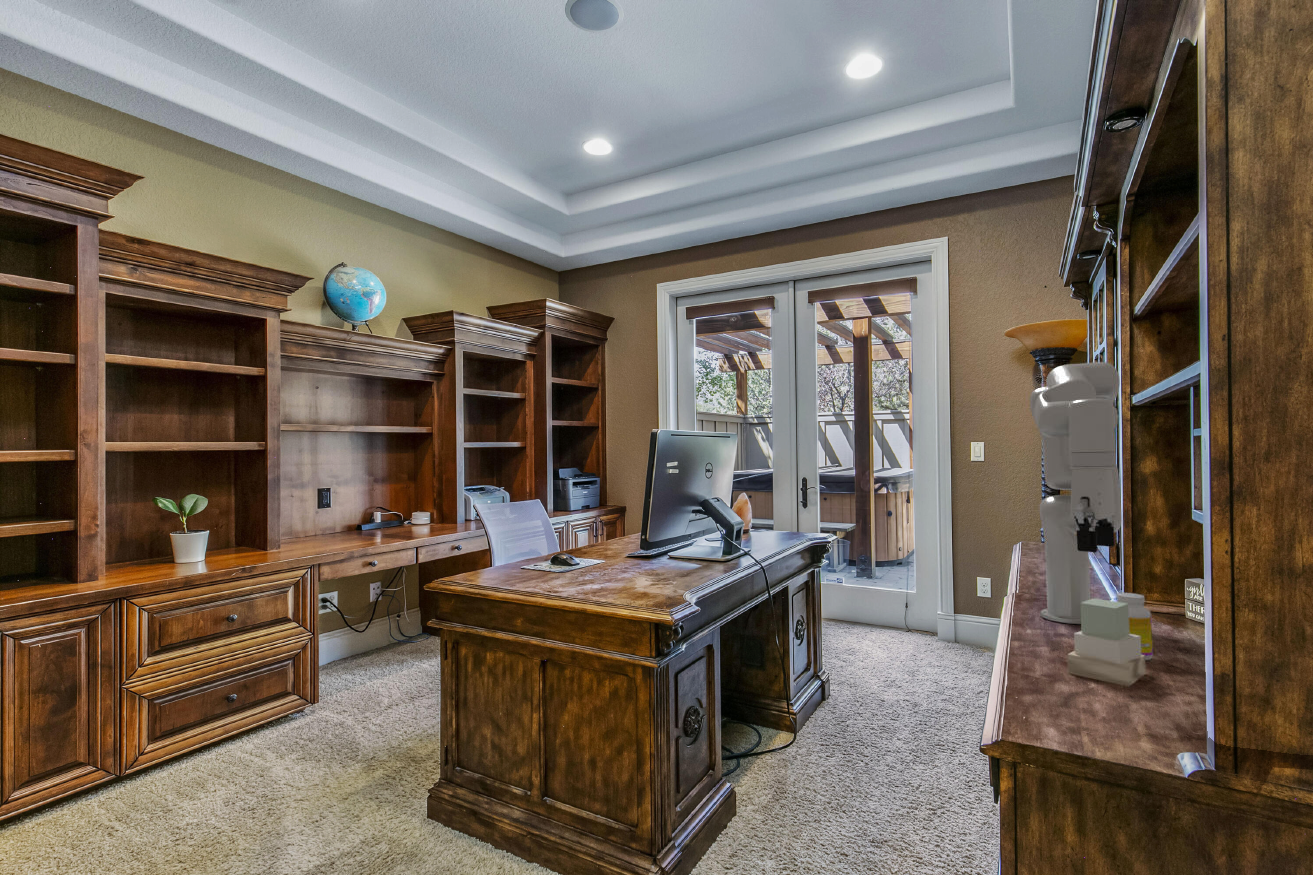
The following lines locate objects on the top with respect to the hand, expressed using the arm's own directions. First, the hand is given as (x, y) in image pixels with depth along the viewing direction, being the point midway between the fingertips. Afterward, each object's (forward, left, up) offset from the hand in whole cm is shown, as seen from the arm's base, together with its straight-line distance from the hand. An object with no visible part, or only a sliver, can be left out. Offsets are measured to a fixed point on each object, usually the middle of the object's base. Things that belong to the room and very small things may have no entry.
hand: (1096, 548), depth 127 cm
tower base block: (0, +1, -25) cm, 25 cm away
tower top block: (0, +1, -21) cm, 21 cm away
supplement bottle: (-16, +1, -24) cm, 29 cm away
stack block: (-1, +1, -17) cm, 17 cm away
